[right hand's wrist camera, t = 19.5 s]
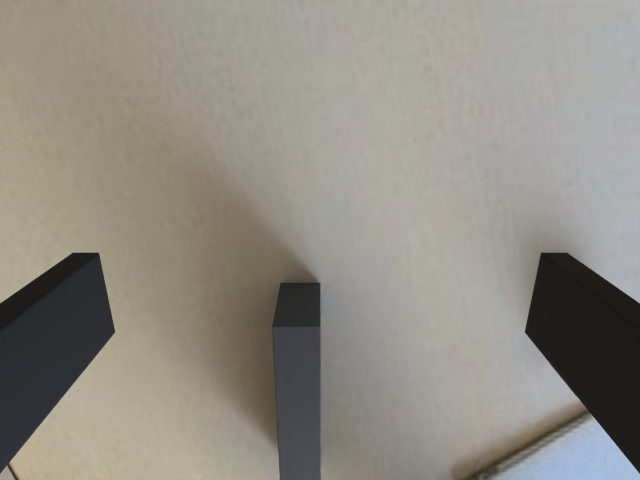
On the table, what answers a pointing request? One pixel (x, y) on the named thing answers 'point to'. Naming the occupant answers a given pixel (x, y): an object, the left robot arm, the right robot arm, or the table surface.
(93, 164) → the table surface
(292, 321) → the bar
